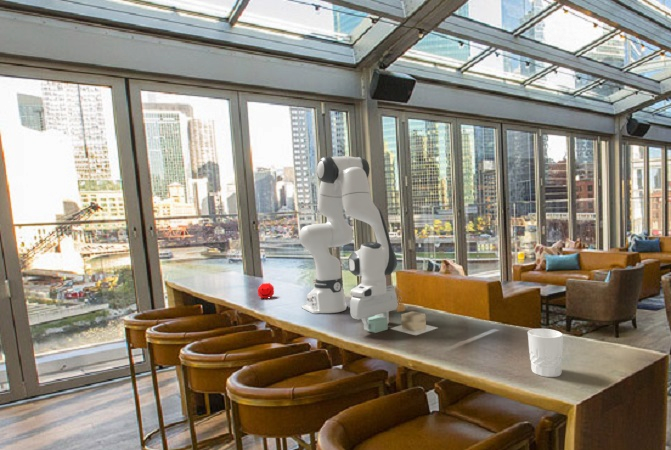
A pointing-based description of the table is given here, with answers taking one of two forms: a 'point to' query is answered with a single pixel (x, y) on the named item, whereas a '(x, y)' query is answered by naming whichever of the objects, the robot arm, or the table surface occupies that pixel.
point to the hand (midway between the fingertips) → (375, 326)
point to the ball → (265, 290)
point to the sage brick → (377, 324)
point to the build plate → (428, 328)
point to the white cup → (545, 352)
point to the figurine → (400, 305)
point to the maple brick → (413, 321)
